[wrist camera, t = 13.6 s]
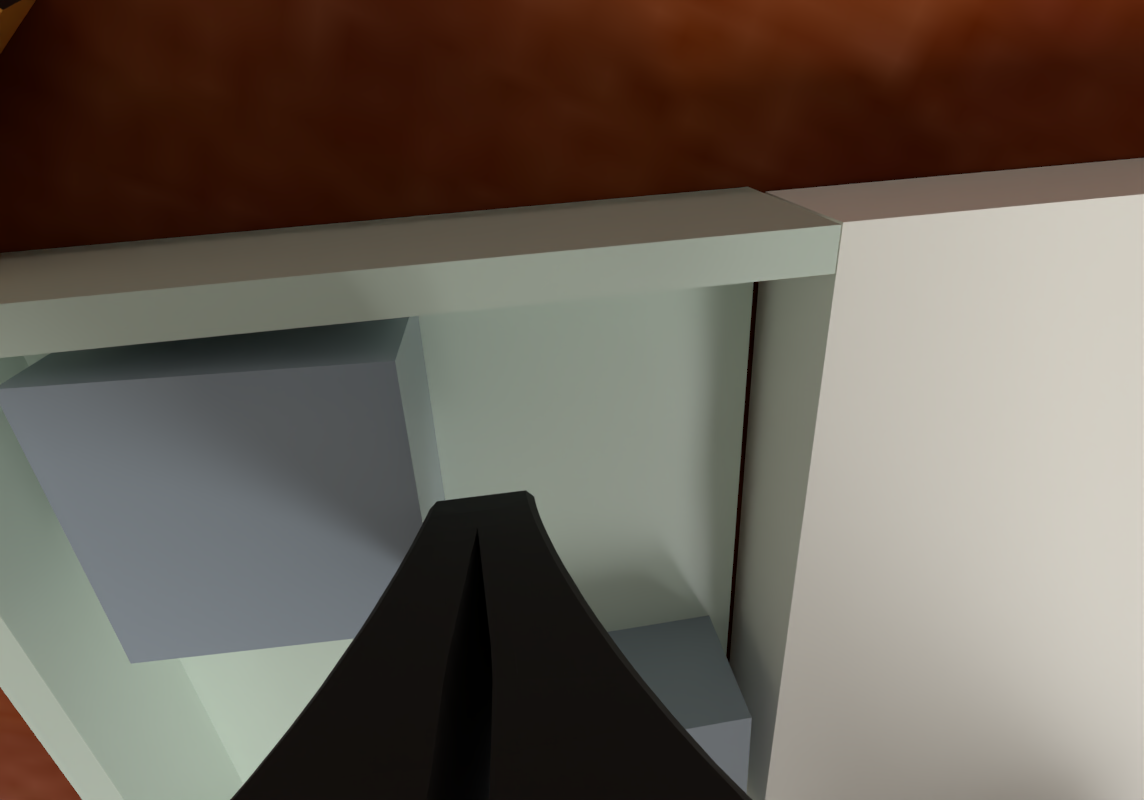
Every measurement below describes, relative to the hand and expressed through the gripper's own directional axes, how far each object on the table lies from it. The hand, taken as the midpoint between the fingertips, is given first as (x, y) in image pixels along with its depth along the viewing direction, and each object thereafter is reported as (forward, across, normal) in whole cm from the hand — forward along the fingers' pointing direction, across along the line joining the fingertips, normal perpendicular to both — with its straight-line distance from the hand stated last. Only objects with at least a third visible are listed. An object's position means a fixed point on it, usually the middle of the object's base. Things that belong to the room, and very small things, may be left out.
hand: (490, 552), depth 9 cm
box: (+3, +1, +4) cm, 5 cm away
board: (+3, -11, +4) cm, 12 cm away
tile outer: (0, +3, -1) cm, 3 cm away
